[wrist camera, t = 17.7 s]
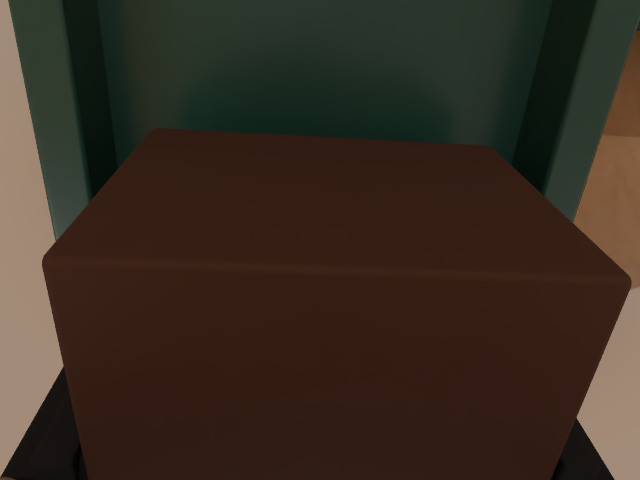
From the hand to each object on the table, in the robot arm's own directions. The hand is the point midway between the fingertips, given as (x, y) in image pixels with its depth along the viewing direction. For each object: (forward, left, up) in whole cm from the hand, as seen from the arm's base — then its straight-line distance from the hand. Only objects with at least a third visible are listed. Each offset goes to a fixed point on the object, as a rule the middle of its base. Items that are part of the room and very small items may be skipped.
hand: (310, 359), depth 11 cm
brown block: (0, 0, -1) cm, 1 cm away
